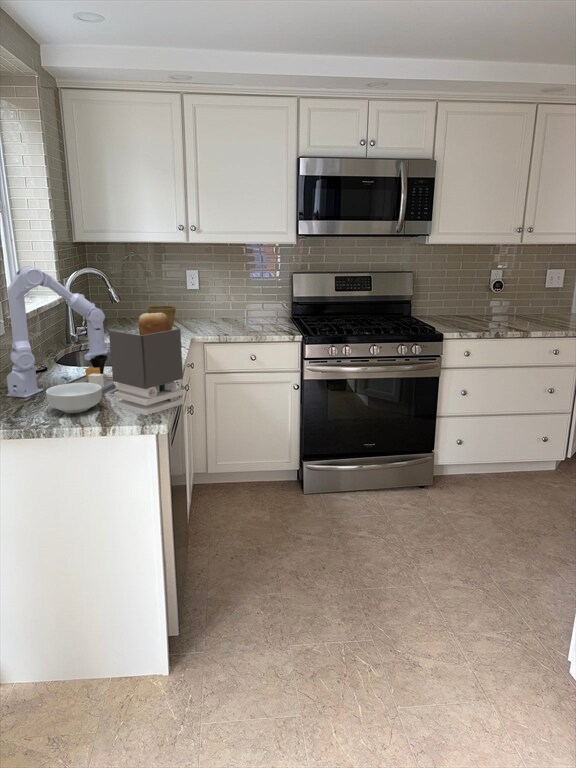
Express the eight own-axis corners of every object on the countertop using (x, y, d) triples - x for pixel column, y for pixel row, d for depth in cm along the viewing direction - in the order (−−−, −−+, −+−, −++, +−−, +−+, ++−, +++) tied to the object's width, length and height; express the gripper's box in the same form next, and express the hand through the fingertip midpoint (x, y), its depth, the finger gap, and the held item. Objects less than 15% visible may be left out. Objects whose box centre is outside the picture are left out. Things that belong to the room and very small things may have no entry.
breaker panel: (97, 397, 195) (95, 379, 193) (56, 394, 198) (54, 376, 197) (127, 381, 214) (126, 365, 213) (89, 379, 218) (87, 363, 216)
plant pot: (151, 340, 297) (149, 309, 293) (147, 335, 310) (145, 306, 306) (179, 338, 302) (178, 308, 298) (174, 333, 315) (172, 304, 311)
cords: (112, 393, 199) (112, 390, 198) (56, 389, 204) (56, 386, 203) (138, 380, 217) (138, 377, 216) (86, 377, 222) (86, 374, 221)
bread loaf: (156, 369, 233) (152, 309, 227) (182, 373, 227) (179, 311, 221) (133, 377, 221) (128, 313, 215) (160, 381, 215) (156, 315, 209)
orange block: (96, 381, 208) (95, 369, 207) (86, 380, 209) (85, 368, 208) (100, 379, 211) (99, 367, 210) (91, 378, 212) (90, 367, 211)
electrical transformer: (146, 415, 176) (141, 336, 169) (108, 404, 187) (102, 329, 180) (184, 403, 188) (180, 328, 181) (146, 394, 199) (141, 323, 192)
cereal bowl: (110, 411, 179) (108, 390, 177) (55, 421, 170) (53, 398, 168) (94, 399, 193) (92, 379, 191) (42, 407, 183) (40, 386, 182)
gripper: (95, 343, 203) (98, 380, 206) (116, 336, 216) (118, 371, 220) (77, 342, 204) (81, 379, 208) (99, 335, 218) (102, 370, 221)
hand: (99, 375), depth 214 cm, fingers closed
